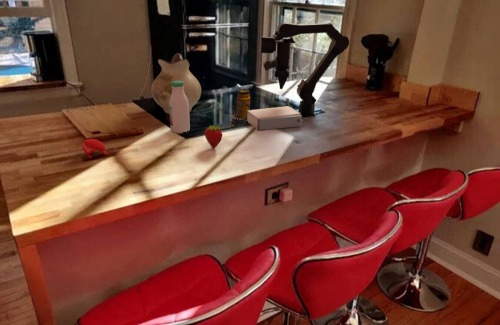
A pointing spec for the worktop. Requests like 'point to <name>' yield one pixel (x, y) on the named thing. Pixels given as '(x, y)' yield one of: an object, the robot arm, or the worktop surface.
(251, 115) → the cabinet
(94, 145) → the cap
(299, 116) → the door
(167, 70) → the pitcher
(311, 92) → the robot arm
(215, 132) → the strawberry
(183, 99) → the milk bottle
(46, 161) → the worktop surface
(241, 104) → the condiment
